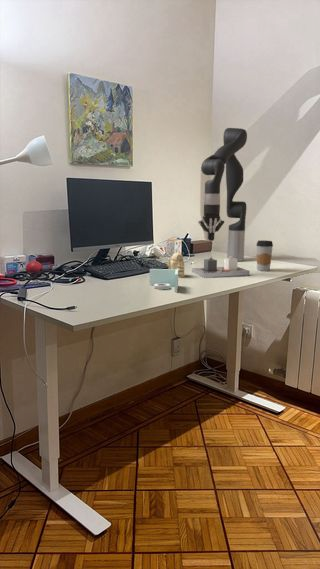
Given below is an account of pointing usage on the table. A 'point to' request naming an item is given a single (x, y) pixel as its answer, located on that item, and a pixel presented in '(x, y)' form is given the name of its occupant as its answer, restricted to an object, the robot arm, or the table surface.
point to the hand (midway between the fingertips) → (210, 240)
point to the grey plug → (210, 264)
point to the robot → (177, 264)
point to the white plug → (230, 263)
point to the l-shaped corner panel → (164, 278)
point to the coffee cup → (264, 255)
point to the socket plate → (221, 272)
